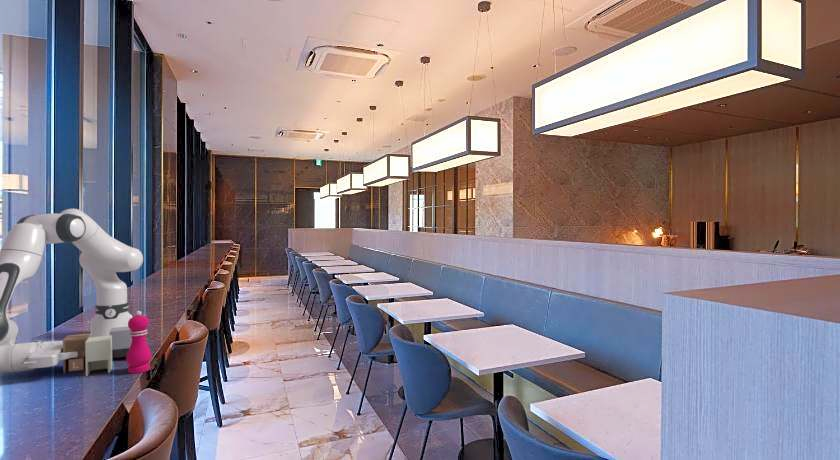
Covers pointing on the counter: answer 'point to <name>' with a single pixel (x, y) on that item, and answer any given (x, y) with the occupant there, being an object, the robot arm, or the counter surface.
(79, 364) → the letter cube
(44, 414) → the counter surface
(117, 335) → the cover
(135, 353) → the pepper mill
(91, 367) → the cover
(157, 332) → the counter surface
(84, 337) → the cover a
